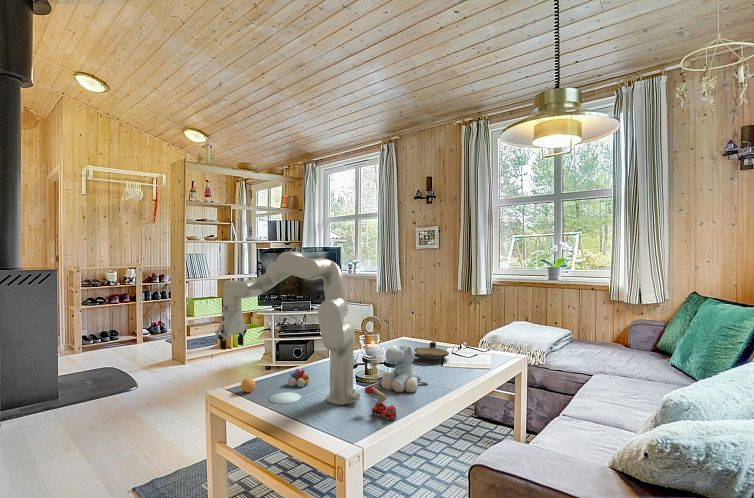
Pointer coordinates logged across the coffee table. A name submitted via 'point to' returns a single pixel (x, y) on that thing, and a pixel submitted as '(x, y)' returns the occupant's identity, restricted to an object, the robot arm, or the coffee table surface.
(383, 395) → the toy fire truck
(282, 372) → the coffee table surface
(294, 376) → the multicolored petal flower toy
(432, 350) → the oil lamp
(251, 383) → the ball
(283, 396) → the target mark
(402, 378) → the hippo plush
